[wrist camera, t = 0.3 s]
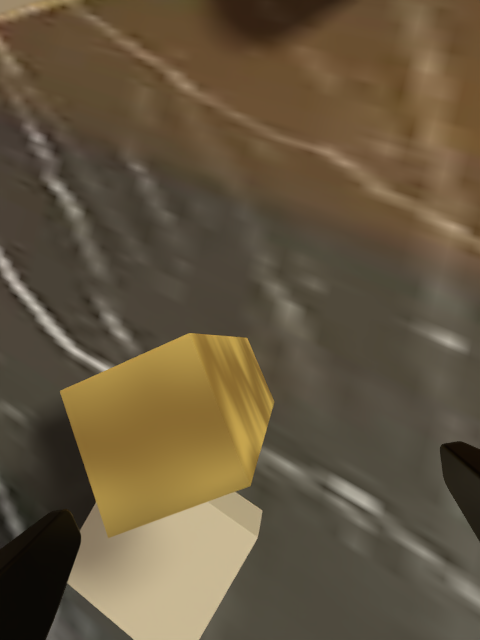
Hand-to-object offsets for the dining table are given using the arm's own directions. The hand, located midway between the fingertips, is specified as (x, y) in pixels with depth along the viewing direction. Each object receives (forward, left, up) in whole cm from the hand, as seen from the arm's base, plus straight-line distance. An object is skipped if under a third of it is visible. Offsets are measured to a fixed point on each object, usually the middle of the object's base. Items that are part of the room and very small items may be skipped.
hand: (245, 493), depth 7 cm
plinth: (-13, +2, -15) cm, 20 cm away
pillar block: (-1, +3, -15) cm, 15 cm away
